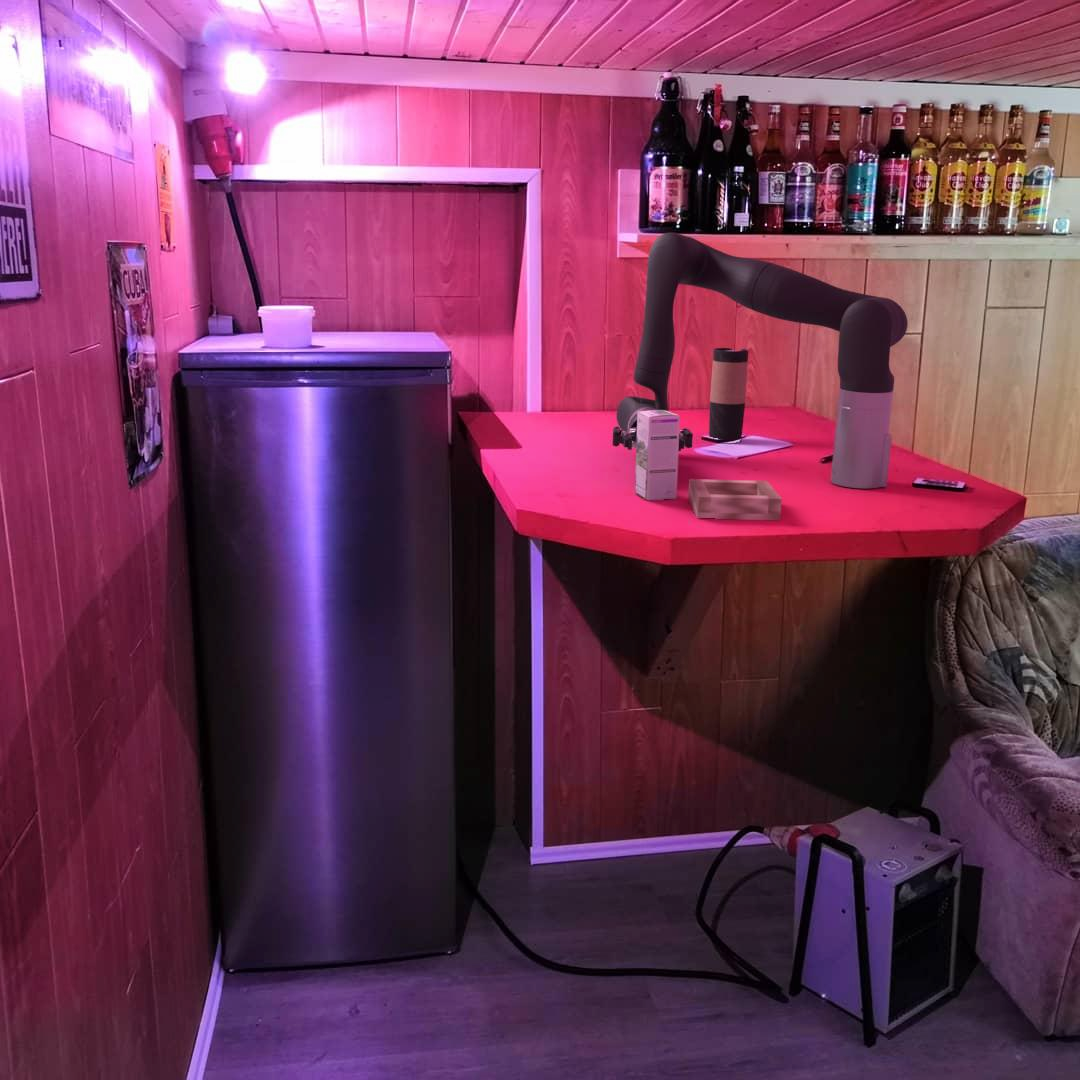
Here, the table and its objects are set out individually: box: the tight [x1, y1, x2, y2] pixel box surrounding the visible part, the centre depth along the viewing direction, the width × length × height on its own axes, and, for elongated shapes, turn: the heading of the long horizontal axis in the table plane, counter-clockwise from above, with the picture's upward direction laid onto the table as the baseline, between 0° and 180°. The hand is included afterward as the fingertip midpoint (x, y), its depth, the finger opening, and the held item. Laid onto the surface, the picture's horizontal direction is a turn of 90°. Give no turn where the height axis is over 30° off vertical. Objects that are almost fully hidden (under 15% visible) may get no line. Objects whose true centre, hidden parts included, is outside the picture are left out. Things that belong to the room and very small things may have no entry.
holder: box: [687, 478, 783, 521], centre depth 172 cm, size 13×13×4 cm
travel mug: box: [708, 347, 749, 440], centre depth 231 cm, size 8×8×20 cm
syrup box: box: [634, 410, 681, 501], centre depth 178 cm, size 6×6×14 cm
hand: (654, 444), depth 183 cm, fingers open, 8 cm apart
